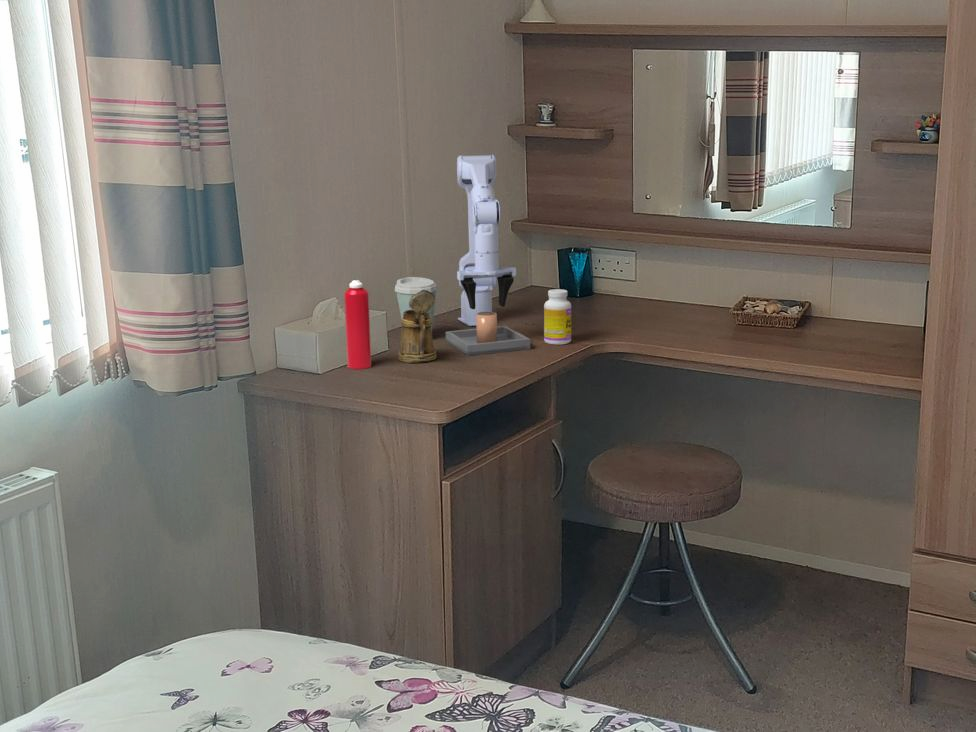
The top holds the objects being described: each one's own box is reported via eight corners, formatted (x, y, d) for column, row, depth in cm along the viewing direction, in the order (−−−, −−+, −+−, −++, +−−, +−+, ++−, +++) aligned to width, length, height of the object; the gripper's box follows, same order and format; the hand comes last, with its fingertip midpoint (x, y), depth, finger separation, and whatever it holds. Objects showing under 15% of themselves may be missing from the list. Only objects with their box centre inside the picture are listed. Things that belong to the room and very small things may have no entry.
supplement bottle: (569, 345, 286) (569, 293, 283) (542, 344, 287) (542, 293, 284) (572, 339, 292) (573, 288, 289) (546, 338, 293) (546, 288, 290)
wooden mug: (406, 369, 266) (404, 291, 261) (394, 356, 278) (391, 281, 274) (445, 366, 268) (443, 288, 264) (430, 352, 281) (428, 278, 276)
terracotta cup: (474, 340, 289) (474, 312, 288) (494, 338, 290) (494, 311, 289) (479, 344, 285) (478, 316, 283) (499, 343, 286) (498, 315, 284)
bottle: (376, 366, 269) (372, 279, 264) (357, 370, 266) (353, 283, 261) (361, 362, 273) (358, 277, 268) (342, 366, 270) (338, 280, 265)
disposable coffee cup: (447, 338, 295) (446, 279, 292) (416, 346, 288) (415, 285, 284) (417, 332, 302) (416, 274, 299) (387, 339, 295) (385, 280, 291)
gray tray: (445, 341, 292) (445, 331, 291) (505, 335, 297) (505, 325, 297) (467, 355, 277) (467, 345, 277) (530, 349, 283) (530, 339, 282)
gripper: (463, 256, 276) (464, 312, 280) (520, 251, 281) (521, 307, 284) (453, 251, 282) (454, 307, 286) (509, 247, 287) (510, 302, 291)
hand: (487, 307), depth 286 cm, fingers open, 7 cm apart
